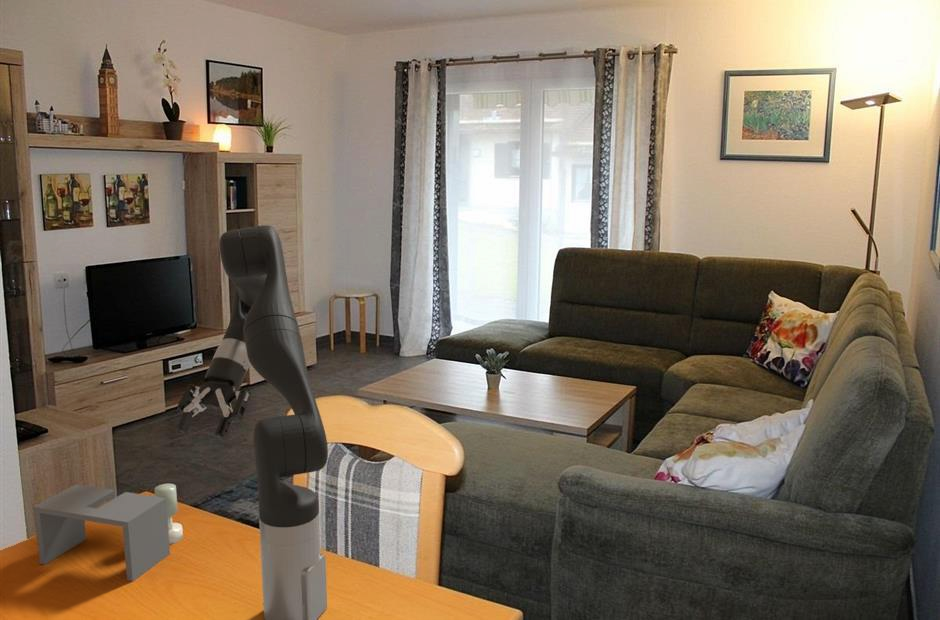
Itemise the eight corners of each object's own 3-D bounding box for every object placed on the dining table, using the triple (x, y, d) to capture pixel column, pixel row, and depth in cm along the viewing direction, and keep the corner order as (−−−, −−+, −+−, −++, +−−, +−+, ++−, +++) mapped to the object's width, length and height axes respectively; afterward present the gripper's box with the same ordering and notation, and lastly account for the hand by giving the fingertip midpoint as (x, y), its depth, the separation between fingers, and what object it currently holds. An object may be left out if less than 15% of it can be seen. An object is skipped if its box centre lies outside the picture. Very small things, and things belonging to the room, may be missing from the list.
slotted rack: (170, 553, 147) (165, 498, 145) (132, 581, 138) (127, 522, 135) (81, 538, 153) (76, 484, 150) (39, 563, 143) (33, 506, 141)
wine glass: (188, 534, 154) (184, 484, 152) (171, 546, 150) (168, 494, 148) (166, 530, 156) (162, 480, 154) (149, 542, 151) (145, 491, 149)
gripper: (192, 353, 168) (160, 422, 159) (252, 358, 164) (222, 430, 155) (209, 370, 174) (179, 438, 165) (266, 376, 170) (239, 446, 161)
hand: (200, 434), depth 160 cm, fingers open, 8 cm apart
